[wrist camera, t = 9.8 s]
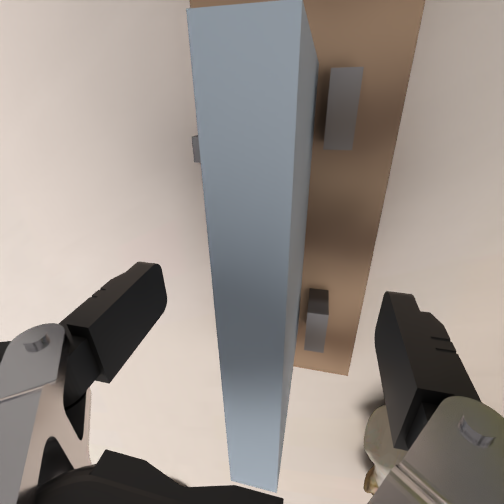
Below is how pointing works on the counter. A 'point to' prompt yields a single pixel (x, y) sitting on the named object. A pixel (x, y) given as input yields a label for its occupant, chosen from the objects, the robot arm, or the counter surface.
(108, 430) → the counter surface
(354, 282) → the cabinet base
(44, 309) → the counter surface
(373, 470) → the ceramic sculpture
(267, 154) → the door
